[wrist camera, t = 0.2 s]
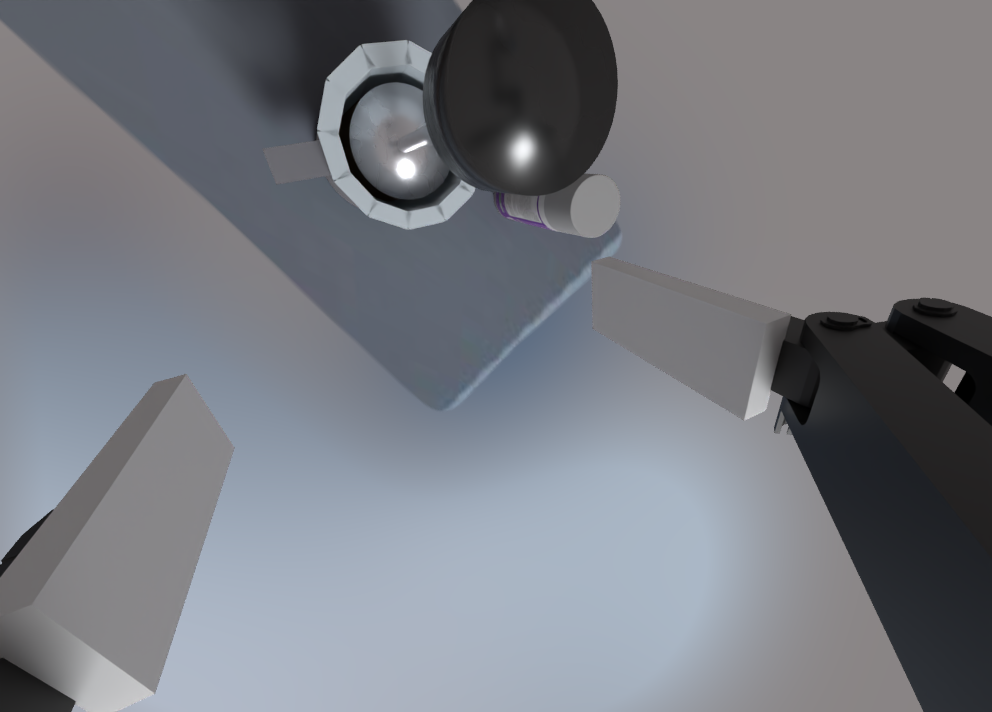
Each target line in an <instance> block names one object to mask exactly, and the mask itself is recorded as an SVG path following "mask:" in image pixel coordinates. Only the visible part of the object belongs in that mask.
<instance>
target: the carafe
mask: <svg viewBox="0 0 992 712" xmlns="http://www.w3.org/2000/svg"><path fill="white" fill-rule="evenodd" d="M431 55H432V53H430V52H428V51H427V50H425V49H423V48H421V47H420V46H418V45H416V44H414V43H413V42H411V41H409V42H407V40H402V41H391V42H379V43H368V44H362V45H361V46H360V45H359V46H358V47H357V48H356V49H355V50H354V51H353V52H352V53H351V54H350V55H349V56H348V57H347V58H346V59H345V60H344V61H343V62H342V63H341V64H340V65H339V66H338V67H337V68H336V69H335V70H334V71H333V72H332V73H331V74H330V75H329V76H328V77H327V80H326V82H325V87H324V93H323V98H322V104H321V109H320V115H319V121H318V126H317V137H316V141H311V142H304V143H297V144H291V145H284V146H278V147H271V148H264V149H263V152H264V154H265V157H266V159H267V162H268V164H269V167H270V169H271V172H272V174H273V177H274V179H275V182H276V184H283V183H289V182H294V181H300V180H306V179H311V178H317V177H323V176H326V178H327V180H328V181H329V182H330V184H331V185H332V187H333V188H334V189H335V190H336V191H337V193H338V194H339V195H341V196H342V197H343V198H344V199H345V200H346V201H348V202H349V203H351V204H352V205H354V206H356V207H358V208H360V209H361V210H362V211H363V212H364V213H365V214H366V215H367V216H368V217H371V218H374V219H377V220H380V221H383V222H386V223H389V224H392V225H395V226H398V227H401V228H404V229H409V230H410V229H414V228H419V227H423V226H428V225H432V224H437V223H441V222H445V221H447V220H448V219H449V218H450V217H451V216H452V215H453V214H454V213H455V212H456V211H457V210H458V209H459V208H460V207H461V206H462V205H463V204H464V203H465V202H466V201H467V200H468V199H469V198H470V197H471V196H472V194H471V193H473V194H474V190H475V187H473V186H471V185H469V184H467V183H465V182H463V181H462V180H461V179H459V178H458V177H457V176H456V175H454V174H453V173H452V172H451V171H449V173H448V175H447V177H446V179H445V180H444V182H443V183H442V184H441V185H440V186H439V187H438V188H437V189H436V190H435V191H434V192H432V193H431V194H429V195H427V196H425V197H422V198H418V199H411V200H408V199H398V198H395V197H392V196H389V195H387V194H385V193H383V192H381V191H379V190H378V189H377V188H375V187H374V186H373V185H372V184H371V183H370V182H369V181H368V180H367V179H366V178H365V177H364V176H363V174H362V173H361V171H360V170H359V168H358V166H357V164H356V162H355V160H354V157H353V154H352V151H351V146H350V138H349V130H350V123H351V119H352V115H353V113H354V111H355V108H356V106H357V105H358V103H359V101H360V100H361V99H362V98H363V96H364V95H365V94H367V93H368V92H369V91H370V90H372V89H373V88H375V87H377V86H380V85H382V84H386V83H405V84H408V85H412V86H414V87H416V88H419V89H420V90H422V91H423V83H424V77H425V72H426V68H427V65H428V62H429V59H430V57H431Z"/></svg>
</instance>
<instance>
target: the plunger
mask: <svg viewBox="0 0 992 712" xmlns="http://www.w3.org/2000/svg"><path fill="white" fill-rule="evenodd" d="M617 87H618V80H617V65H616V58H615V52H614V48H613V44H612V40H611V37H610V34H609V31H608V28H607V26H606V24H605V22H604V19H603V17H602V15H601V13H600V12H599V10H598V9H597V7H596V6H595V4H594V2H593V1H592V0H473V1H472V2H471V3H470V4H469V6H467V8H466V9H465V10H464V11H463V12H462V14H461V15H460V16H459V17H458V18H457V20H456V21H455V22H454V23H453V24H452V26H451V27H450V28H449V29H448V30H447V31H446V33H445V34H444V35H443V36H442V37H441V39H440V40H439V42H438V43H437V45H436V47H435V48H434V50H433V52H432V55H431V57H430V59H429V62H428V65H427V68H426V72H425V77H424V83H423V91H422V90H420V89H419V88H416V87H414V86H412V85H408V84H405V83H386V84H382V85H380V86H377V87H375V88H373V89H372V90H370V91H369V92H368V93H367V94H365V95H364V96H363V98H362V99H361V100H360V101H359V103H358V105H357V106H356V108H355V111H354V113H353V115H352V119H351V123H350V130H349V138H350V146H351V151H352V154H353V157H354V160H355V162H356V164H357V166H358V168H359V170H360V171H361V173H362V174H363V176H364V177H365V178H366V179H367V180H368V181H369V182H370V183H371V184H372V185H373V186H374V187H375V188H377V189H378V190H379V191H381V192H383V193H385V194H387V195H389V196H392V197H395V198H398V199H408V200H411V199H418V198H422V197H425V196H427V195H429V194H431V193H432V192H434V191H435V190H436V189H437V188H438V187H439V186H440V185H441V184H442V183H443V182H444V180H445V179H446V177H447V175H448V173H449V171H451V172H452V173H453V174H454V175H456V176H457V177H458V178H459V179H461V180H462V181H463V182H465V183H467V184H469V185H471V186H473V187H475V188H478V189H481V190H485V191H491V192H499V193H508V194H517V195H526V196H541V195H548V194H551V193H554V192H557V191H560V190H562V189H564V188H566V187H567V186H569V185H571V184H572V183H574V182H575V181H576V180H577V179H579V178H580V177H581V176H582V175H583V174H584V173H585V172H586V170H588V169H589V168H590V166H591V165H592V164H593V162H594V161H595V159H596V158H597V157H598V155H599V153H600V151H601V150H602V148H603V145H604V143H605V141H606V139H607V137H608V134H609V131H610V128H611V125H612V122H613V117H614V113H615V107H616V101H617Z"/></svg>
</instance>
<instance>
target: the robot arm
mask: <svg viewBox="0 0 992 712" xmlns="http://www.w3.org/2000/svg"><path fill="white" fill-rule="evenodd" d="M592 312H593V329H594V330H596V331H597V332H599V333H600V334H602V335H604V336H606V337H607V338H609V339H610V340H612V341H614V342H615V343H617V344H619V345H620V346H622V347H624V348H625V349H627V350H629V351H630V352H632V353H634V354H635V355H637V356H639V357H640V358H642V359H643V360H645V361H647V362H648V363H650V364H652V365H653V366H655V367H657V368H658V369H660V370H662V371H663V372H665V373H666V374H668V375H670V376H672V377H673V378H675V379H677V380H678V381H680V382H681V383H683V384H685V385H686V386H688V387H690V388H691V389H693V390H695V391H696V392H698V393H699V394H701V395H703V396H704V397H706V398H708V399H709V400H711V401H713V402H714V403H716V404H718V405H719V406H721V407H723V408H724V409H726V410H728V411H729V412H731V413H733V414H734V415H736V416H737V417H739V418H741V419H742V420H746V419H748V418H751V417H753V416H755V415H757V414H759V413H761V412H763V411H766V408H767V404H768V400H769V397H770V393H771V390H772V391H774V392H776V393H778V394H780V395H782V396H783V398H782V402H781V405H780V409H779V412H778V416H777V419H776V423H775V427H774V431H775V432H774V433H780V431H781V427H782V426H783V425H784V424H788V426H789V427H788V431H787V434H790V435H793V436H794V438H795V440H796V443H797V445H798V447H799V449H800V451H801V453H802V456H803V458H804V460H805V462H806V464H807V466H808V468H809V470H810V472H811V475H812V477H813V479H814V481H815V483H816V485H817V487H818V489H819V491H820V494H821V496H822V498H823V500H824V502H825V504H826V506H827V508H828V510H829V513H830V515H831V517H832V519H833V521H834V523H835V525H836V527H837V529H838V531H839V534H840V536H841V538H842V540H843V542H844V544H845V546H846V549H847V550H848V553H849V555H850V557H851V559H852V561H853V563H854V565H855V567H856V570H857V572H858V574H859V576H860V578H861V580H862V582H863V584H864V586H865V589H866V591H867V593H868V595H869V597H870V599H871V601H872V604H873V606H874V608H875V610H876V612H877V614H878V616H879V618H880V621H881V623H882V625H883V627H884V629H885V631H886V633H887V635H888V637H889V640H890V642H891V644H892V646H893V648H894V650H895V652H896V654H897V656H898V659H899V661H900V663H901V665H902V667H903V669H904V671H905V673H906V675H907V678H908V680H909V682H910V684H911V686H912V688H913V690H914V692H915V695H916V697H917V699H918V701H919V703H920V705H921V707H922V709H923V712H992V317H990V316H988V315H985V314H983V313H980V312H978V311H975V310H973V309H970V308H968V307H965V306H961V305H958V304H955V303H951V302H948V301H945V300H942V299H935V298H932V299H930V298H920V299H907V300H902V301H899V302H897V303H895V304H894V306H893V308H892V311H891V313H890V315H889V318H888V321H885V322H879V323H874V322H873V321H871V320H869V319H867V318H866V317H862V316H857V315H852V314H848V313H840V312H821V313H815V314H812V315H809V316H808V317H807V318H806V319H805V320H801V319H798V318H795V317H792V316H791V314H789V313H785V312H782V311H779V310H776V309H773V308H770V307H766V306H763V305H760V304H757V303H754V302H751V301H748V300H744V299H741V298H738V297H735V296H731V295H728V294H725V293H722V292H719V291H716V290H713V289H710V288H706V287H703V286H700V285H697V284H694V283H691V282H688V281H684V280H681V279H678V278H675V277H672V276H669V275H665V274H662V273H659V272H656V271H653V270H650V269H646V268H643V267H640V266H637V265H634V264H631V263H628V262H624V261H621V260H618V259H615V258H612V257H606V258H602V259H599V260H595V261H592ZM952 364H954V365H956V366H957V367H959V368H961V369H963V370H965V371H966V373H965V375H964V377H963V378H962V380H961V382H960V384H959V385H958V387H957V389H956V391H955V393H954V392H952V390H950V389H949V388H948V387H947V386H946V385H945V384H944V383H943V380H944V378H945V376H946V375H947V372H948V371H949V369H950V367H951V365H952ZM233 451H234V447H233V445H232V443H231V442H230V440H229V439H228V437H227V435H226V434H225V432H224V431H223V429H222V428H221V426H220V425H219V423H218V422H217V420H216V419H215V417H214V416H213V414H212V413H211V411H210V409H209V408H208V406H207V405H206V403H205V402H204V400H203V399H202V397H201V396H200V394H199V393H198V391H197V389H196V388H195V386H194V385H193V383H192V382H191V380H190V379H189V377H188V376H187V374H184V375H181V376H177V377H174V378H170V379H166V380H163V381H159V382H156V383H154V384H153V385H152V387H151V388H150V389H149V390H148V392H147V393H146V394H145V396H144V397H143V398H142V399H141V401H140V402H139V403H138V404H137V406H136V407H135V408H134V409H133V411H132V412H131V413H130V414H129V416H128V417H127V418H126V419H125V421H124V422H123V423H122V424H121V426H120V427H119V428H118V429H117V431H116V432H115V433H114V435H113V436H112V437H111V438H110V440H109V441H108V442H107V443H106V445H105V446H104V447H103V449H102V450H101V451H100V452H99V453H98V455H97V456H96V457H95V458H94V460H93V461H92V462H91V464H90V465H89V466H88V467H87V469H86V470H85V471H84V473H83V474H82V475H81V476H80V477H79V479H78V480H77V481H76V482H75V484H74V485H73V486H72V488H71V489H70V490H69V491H68V493H67V494H66V495H65V497H64V498H63V499H62V500H61V502H60V503H59V504H58V505H57V507H56V508H55V509H53V510H51V511H50V512H49V513H48V514H47V515H46V516H44V517H43V518H42V519H41V520H40V521H39V522H37V523H36V524H35V525H34V526H32V527H31V528H30V529H29V530H28V531H26V532H25V533H24V534H23V535H22V536H21V537H20V538H19V540H18V541H17V542H16V543H15V544H14V546H13V547H12V548H11V549H10V551H9V552H8V553H7V554H6V555H5V557H4V558H3V559H2V560H1V561H2V564H1V565H0V712H71V711H72V708H73V707H74V705H77V706H79V707H81V708H82V709H84V710H86V711H87V712H117V711H119V710H121V709H123V708H125V707H128V706H130V705H132V704H134V703H136V702H138V701H140V700H143V699H145V698H147V697H149V696H151V695H153V694H155V692H156V689H157V686H158V683H159V680H160V677H161V674H162V671H163V667H164V665H165V661H166V658H167V655H168V652H169V649H170V646H171V643H172V640H173V637H174V634H175V631H176V627H177V624H178V621H179V618H180V615H181V612H182V609H183V606H184V603H185V599H186V596H187V593H188V590H189V587H190V584H191V581H192V578H193V575H194V572H195V569H196V566H197V562H198V559H199V556H200V553H201V550H202V547H203V544H204V541H205V538H206V535H207V532H208V528H209V525H210V522H211V519H212V516H213V513H214V510H215V507H216V504H217V500H218V497H219V495H220V491H221V488H222V485H223V482H224V479H225V476H226V473H227V470H228V467H229V464H230V460H231V457H232V454H233Z"/></svg>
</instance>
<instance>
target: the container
mask: <svg viewBox="0 0 992 712" xmlns="http://www.w3.org/2000/svg"><path fill="white" fill-rule="evenodd" d="M494 202H495V206H496V208H497V210H498V212H499V213H500V214H501V215H502V216H503V217H505V218H507V219H510V220H514V221H518V222H522V223H526V224H530V225H534V226H538V227H542V228H545V229H549V230H553V231H558V232H563V233H568V234H573V235H578V236H583V237H589V238H594V237H598V236H601V235H602V234H604V233H605V232H607V231H608V230H609V229H610V228H611V227H612V225H613V224H614V222H615V220H616V218H617V215H618V213H619V209H620V194H619V190H618V187H617V185H616V184H615V182H614V181H613V180H612V179H611V178H609V177H608V176H605V175H600V174H599V175H598V174H583V175H582V176H581V177H580V178H579V179H577V180H576V181H575V182H574V183H572V184H571V185H569V186H567V187H566V188H564V189H562V190H560V191H557V192H554V193H551V194H548V195H541V196H526V195H517V194H508V193H499V192H494Z"/></svg>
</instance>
